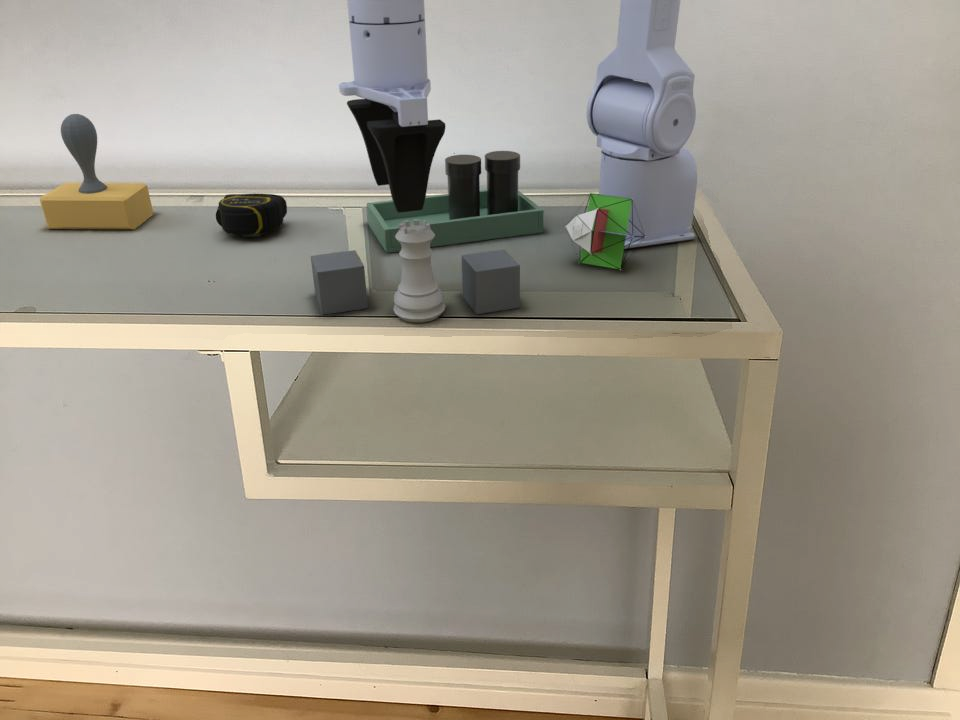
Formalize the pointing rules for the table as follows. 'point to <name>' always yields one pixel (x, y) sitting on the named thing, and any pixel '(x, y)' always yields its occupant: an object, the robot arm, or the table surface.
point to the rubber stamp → (93, 189)
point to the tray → (454, 221)
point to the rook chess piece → (417, 275)
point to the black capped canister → (502, 181)
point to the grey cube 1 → (339, 282)
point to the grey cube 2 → (491, 281)
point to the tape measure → (251, 213)
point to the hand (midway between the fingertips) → (398, 196)
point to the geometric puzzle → (603, 230)
